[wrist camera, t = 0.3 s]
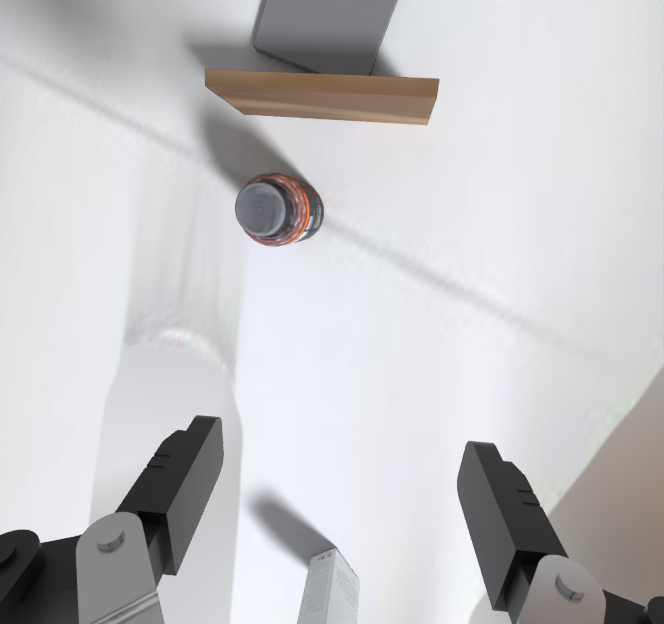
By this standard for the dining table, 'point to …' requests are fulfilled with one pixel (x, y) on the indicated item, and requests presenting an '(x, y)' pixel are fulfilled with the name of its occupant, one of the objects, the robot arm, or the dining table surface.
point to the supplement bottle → (278, 209)
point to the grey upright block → (330, 591)
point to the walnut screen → (326, 95)
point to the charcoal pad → (325, 33)
